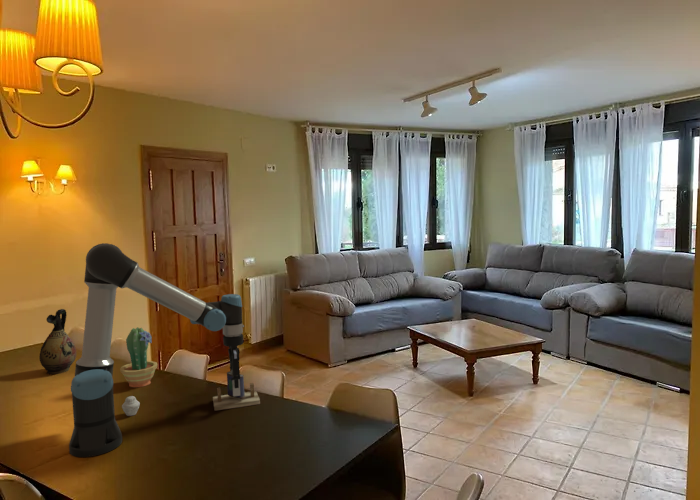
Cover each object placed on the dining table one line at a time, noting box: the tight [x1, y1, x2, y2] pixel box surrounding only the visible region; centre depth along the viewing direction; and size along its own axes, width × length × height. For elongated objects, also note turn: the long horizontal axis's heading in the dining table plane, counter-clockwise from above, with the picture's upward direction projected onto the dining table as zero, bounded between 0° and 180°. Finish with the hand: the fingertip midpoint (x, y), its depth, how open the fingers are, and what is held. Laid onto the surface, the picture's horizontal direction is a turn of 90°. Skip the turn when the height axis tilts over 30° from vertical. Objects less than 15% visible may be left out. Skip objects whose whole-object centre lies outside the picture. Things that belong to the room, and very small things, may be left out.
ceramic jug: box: [38, 308, 77, 375], centre depth 239 cm, size 17×15×30 cm
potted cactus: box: [119, 327, 158, 388], centre depth 217 cm, size 15×15×25 cm
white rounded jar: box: [121, 395, 141, 417], centre depth 183 cm, size 6×6×7 cm
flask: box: [226, 370, 245, 399], centre depth 192 cm, size 9×3×11 cm, turn 50°
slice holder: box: [212, 382, 261, 412], centre depth 192 cm, size 11×17×6 cm, turn 108°
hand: (235, 391), depth 192 cm, fingers closed on flask, 8 cm apart
